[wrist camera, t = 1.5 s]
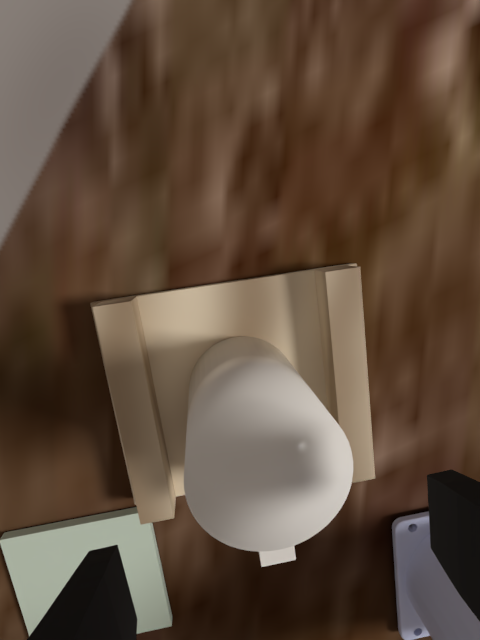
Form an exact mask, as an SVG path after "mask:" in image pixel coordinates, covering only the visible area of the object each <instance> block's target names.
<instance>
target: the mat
mask: <svg viewBox="0 0 480 640" xmlns="http://www.w3.org/2000/svg"><path fill="white" fill-rule="evenodd" d="M0 545H1V548H2V551H3V554H4V557H5V560H6V564H7V567H8V570H9V573H10V576H11V580H12V583H13V586H14V589H15V592H16V595H17V599H18V602H19V605H20V608H21V611H22V615H23V618H24V621H25V624H26V627H27V630H28V634H29V636H30V635H31V633H32V632H33V631H34V629H35V628H36V626H37V625H38V624H39V622H40V621H41V619H42V618H43V617H44V615H45V614H46V612H47V611H48V609H49V608H50V606H51V605H52V604H53V602H54V601H55V599H56V598H57V596H58V595H59V593H60V592H61V591H62V589H63V588H64V586H65V585H66V583H67V582H68V580H69V579H70V577H71V576H72V575H73V573H74V572H75V570H76V569H77V567H78V566H79V565H80V563H81V562H82V560H83V559H84V558H85V556H86V555H87V553H88V552H89V551H91V550H96V549H100V548H105V547H109V546H113V545H118V548H119V552H120V556H121V560H122V563H123V567H124V571H125V575H126V578H127V582H128V586H129V589H130V593H131V597H132V601H133V604H134V608H135V612H136V616H137V634H138V633H143V632H147V631H152V630H156V629H161V628H166V627H170V626H172V613H171V608H170V603H169V599H168V594H167V589H166V585H165V580H164V575H163V571H162V566H161V561H160V556H159V552H158V547H157V542H156V538H155V533H154V528H153V524H152V523H147V524H142V525H141V524H140V520H139V515H138V511H137V507H133V508H128V509H123V510H118V511H113V512H108V513H102V514H97V515H92V516H87V517H82V518H77V519H71V520H66V521H61V522H56V523H51V524H46V525H40V526H35V527H30V528H25V529H20V530H15V531H9V532H4V534H3V535H2V537H1V538H0Z"/></svg>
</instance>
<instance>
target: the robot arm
mask: <svg viewBox="0 0 480 640" xmlns="http://www.w3.org/2000/svg"><path fill="white" fill-rule="evenodd" d="M427 482H428V503H429V511H428V512H423V513H418V514H413V515H408V516H403V517H399V518H397V519H396V520H394V522H393V523H392V537H393V553H394V569H395V585H396V601H397V617H398V630H399V633H400V635H401V637H402V638H403V639H404V640H413V639H417V638H421V637H426V636H431V637H432V639H433V640H480V482H478V481H476V480H474V479H471V478H469V477H467V476H465V475H463V474H460V473H458V472H456V471H453V470H448V471H443V472H439V473H434V474H430V475H427ZM411 524H412V526H410V525H411ZM409 526H410V527H409ZM136 634H137V616H136V612H135V608H134V604H133V601H132V597H131V593H130V589H129V586H128V582H127V578H126V575H125V571H124V567H123V563H122V560H121V556H120V552H119V548H118V545H113V546H109V547H105V548H100V549H96V550H91V551H89V552H88V553H87V555H86V556H85V558H84V559H83V560H82V562H81V563H80V565H79V566H78V567H77V569H76V570H75V572H74V573H73V575H72V576H71V577H70V579H69V580H68V582H67V583H66V585H65V586H64V588H63V589H62V591H61V592H60V593H59V595H58V596H57V598H56V599H55V601H54V602H53V604H52V605H51V606H50V608H49V609H48V611H47V612H46V614H45V615H44V617H43V618H42V619H41V621H40V622H39V624H38V625H37V626H36V628H35V629H34V631H33V632H32V633H31V635H30V636H29V638H28V639H27V640H136Z"/></svg>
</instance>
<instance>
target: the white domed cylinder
mask: <svg viewBox="0 0 480 640" xmlns="http://www.w3.org/2000/svg"><path fill="white" fill-rule="evenodd" d="M352 478H353V457H352V451H351V448H350V444H349V442H348V439H347V437H346V435H345V433H344V432H343V430H342V429H341V427H340V426H339V424H338V423H337V422H336V421H335V419H334V418H333V417H332V416H331V414H330V413H329V412H328V410H327V409H326V408H325V407H324V405H323V404H322V403H321V401H320V400H319V399H318V398H317V396H316V395H315V394H314V393H313V391H312V390H311V389H310V387H309V386H308V385H307V384H306V382H305V381H304V380H303V378H302V377H301V376H300V375H299V373H298V372H297V371H296V370H295V368H294V367H293V366H292V364H291V363H290V362H289V361H288V359H287V358H286V357H285V355H284V354H283V353H282V352H281V351H280V350H279V349H278V348H276V347H275V346H274V345H272V344H271V343H269V342H267V341H265V340H262V339H259V338H255V337H248V336H240V337H233V338H229V339H226V340H223V341H221V342H219V343H217V344H215V345H213V346H212V347H210V348H209V349H208V350H207V351H206V352H205V353H204V354H203V355H202V356H201V357H200V358H199V360H198V361H197V363H196V364H195V366H194V368H193V371H192V374H191V377H190V382H189V396H188V414H187V431H186V448H185V466H184V491H185V496H186V500H187V504H188V506H189V508H190V511H191V513H192V514H193V516H194V518H195V519H196V521H197V522H198V523H199V524H200V526H201V527H202V528H203V529H204V530H205V531H206V532H207V533H209V534H210V535H211V536H212V537H214V538H215V539H217V540H219V541H220V542H222V543H224V544H227V545H229V546H232V547H235V548H238V549H242V550H247V551H258V552H259V557H260V562H261V567H265V566H269V565H274V564H279V563H284V562H288V561H293V560H296V555H295V547H294V545H297V544H299V543H302V542H303V541H305V540H307V539H309V538H311V537H312V536H314V535H315V534H317V533H318V532H320V531H321V530H322V529H323V528H324V527H326V526H327V525H328V524H329V523H330V522H331V521H332V519H333V518H334V517H335V516H336V515H337V513H338V512H339V511H340V509H341V507H342V506H343V504H344V502H345V500H346V498H347V496H348V493H349V491H350V487H351V483H352Z"/></svg>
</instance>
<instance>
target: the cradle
mask: <svg viewBox="0 0 480 640" xmlns="http://www.w3.org/2000/svg"><path fill="white" fill-rule="evenodd" d="M90 305H91V310H92V314H93V319H94V323H95V328H96V332H97V337H98V341H99V346H100V350H101V355H102V359H103V364H104V368H105V373H106V377H107V382H108V386H109V391H110V395H111V400H112V404H113V409H114V413H115V418H116V422H117V427H118V431H119V436H120V440H121V445H122V449H123V454H124V458H125V463H126V467H127V471H128V476H129V480H130V485H131V489H132V494H133V498H134V503H135V504H136V506H137V511H138V515H139V520H140V524H141V525H142V524H147V523H152V522H157V521H162V520H167V519H172V518H174V513H175V501H176V497H177V496H182V495H185V491H184V466H185V448H186V431H187V414H188V396H189V382H190V377H191V374H192V371H193V368H194V366H195V364H196V363H197V361H198V360H199V358H200V357H201V356H202V355H203V354H204V353H205V352H206V351H207V350H208V349H209V348H210V347H212V346H213V345H215V344H217V343H219V342H221V341H223V340H226V339H229V338H233V337H240V336H248V337H255V338H259V339H262V340H265V341H267V342H269V343H271V344H272V345H274V346H275V347H276V348H278V349H279V350H280V351H281V352H282V353H283V354H284V355H285V357H286V358H287V359H288V361H289V362H290V363H291V364H292V366H293V367H294V368H295V370H296V371H297V372H298V373H299V375H300V376H301V377H302V378H303V380H304V381H305V382H306V384H307V385H308V386H309V387H310V389H311V390H312V391H313V393H314V394H315V395H316V396H317V398H318V399H319V400H320V401H321V403H322V404H323V405H324V407H325V408H326V409H327V410H328V412H329V413H330V414H331V416H332V417H333V418H334V419H335V421H336V422H337V423H338V424H339V426H340V427H341V429H342V430H343V432H344V433H345V435H346V437H347V439H348V442H349V444H350V448H351V451H352V457H353V478H352V483H355V482H360V481H365V480H370V479H375V470H374V456H373V442H372V428H371V414H370V399H369V385H368V371H367V357H366V343H365V329H364V315H363V301H362V287H361V273H360V267H357V264H356V263H350V264H343V265H336V266H330V267H323V268H316V269H309V270H303V271H296V272H289V273H283V274H276V275H269V276H262V277H256V278H249V279H242V280H236V281H229V282H222V283H215V284H209V285H202V286H195V287H189V288H182V289H175V290H168V291H162V292H155V293H148V294H142V295H135V296H128V297H121V298H115V299H108V300H101V301H95V302H92V303H90Z"/></svg>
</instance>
